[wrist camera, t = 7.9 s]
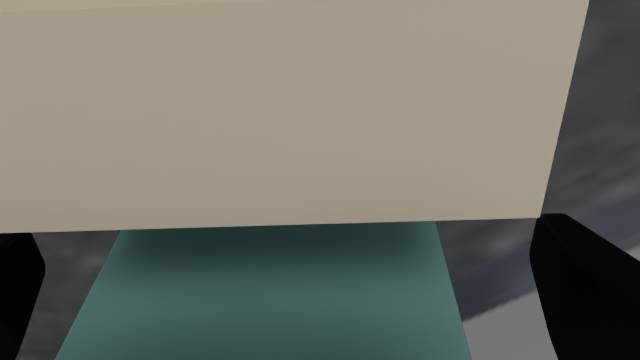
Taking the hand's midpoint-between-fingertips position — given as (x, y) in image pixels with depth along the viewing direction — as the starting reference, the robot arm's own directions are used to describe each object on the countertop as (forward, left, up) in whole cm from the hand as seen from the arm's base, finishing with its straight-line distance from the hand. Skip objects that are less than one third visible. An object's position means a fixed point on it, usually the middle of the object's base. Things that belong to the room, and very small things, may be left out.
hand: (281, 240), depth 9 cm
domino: (0, -5, -5) cm, 7 cm away
